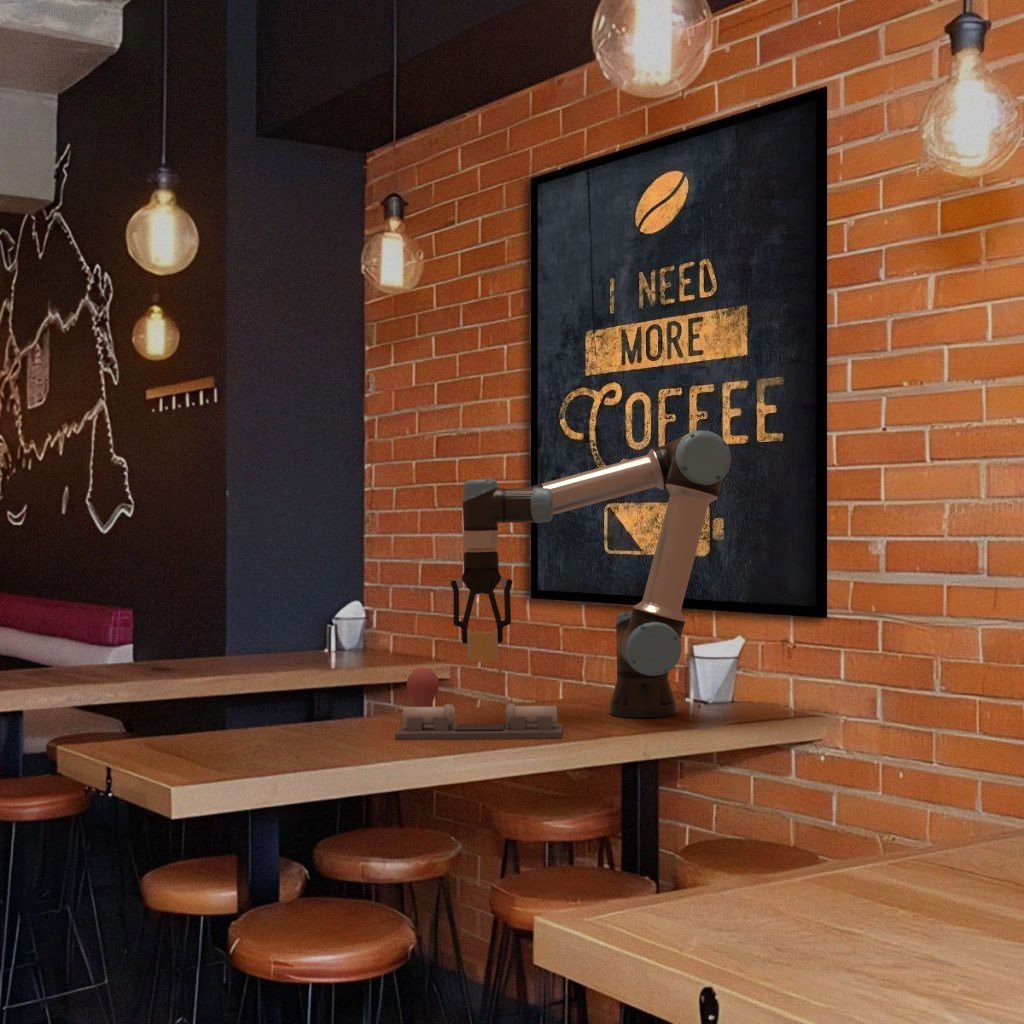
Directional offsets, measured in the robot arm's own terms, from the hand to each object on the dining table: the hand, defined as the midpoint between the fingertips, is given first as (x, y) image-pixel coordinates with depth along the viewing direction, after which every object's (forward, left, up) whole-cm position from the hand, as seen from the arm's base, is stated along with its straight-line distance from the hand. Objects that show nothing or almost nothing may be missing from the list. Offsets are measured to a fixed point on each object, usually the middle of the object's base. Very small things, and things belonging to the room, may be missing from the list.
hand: (482, 658), depth 288 cm
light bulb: (+14, -7, -15) cm, 22 cm away
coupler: (0, 0, 0) cm, 0 cm away
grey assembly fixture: (0, +10, -15) cm, 18 cm away
